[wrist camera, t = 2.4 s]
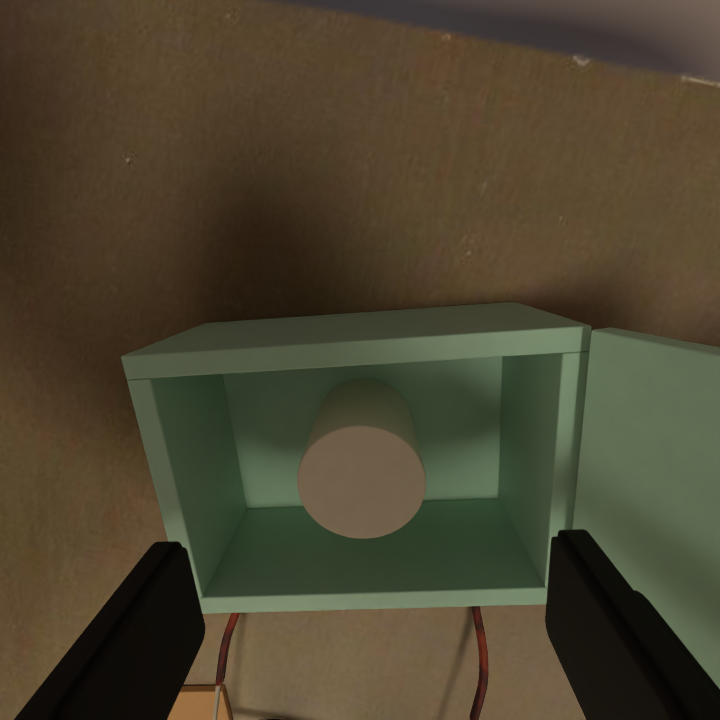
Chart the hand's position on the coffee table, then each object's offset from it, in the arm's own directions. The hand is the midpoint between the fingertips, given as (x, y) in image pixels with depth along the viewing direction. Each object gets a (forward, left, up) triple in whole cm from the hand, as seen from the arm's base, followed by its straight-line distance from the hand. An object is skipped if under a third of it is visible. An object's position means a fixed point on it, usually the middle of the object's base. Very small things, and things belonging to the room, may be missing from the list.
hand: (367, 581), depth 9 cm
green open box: (0, 0, -10) cm, 10 cm away
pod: (0, 0, -9) cm, 9 cm away
